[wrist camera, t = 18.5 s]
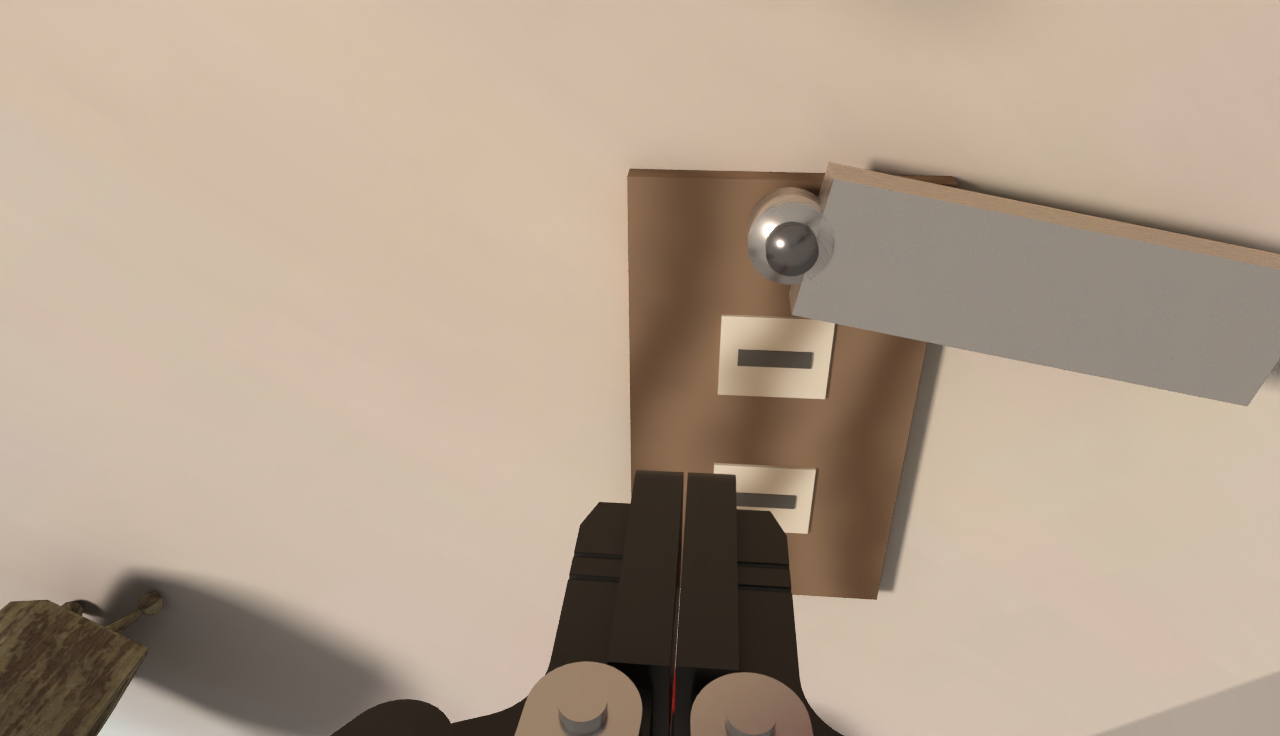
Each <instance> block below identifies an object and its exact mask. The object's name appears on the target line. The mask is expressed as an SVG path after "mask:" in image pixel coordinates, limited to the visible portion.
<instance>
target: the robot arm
mask: <svg viewBox="0 0 1280 736" xmlns="http://www.w3.org/2000/svg"><path fill="white" fill-rule="evenodd" d="M683 491H684V472H670V471H650V470H636V473H635V478H634V485H633V492H632V498H631V504H626V503H608V502H599V503H598V504H597V505H596V507H595V508H594V509H593V510H592V511H591V513H590V514H589V515H588V516H587V517H586V519H585V520H584V521H583V522H582V523H581V525H580V528H579V533H578V537H577V542H576V547H575V551H574V557H573V560H572V565H571V569H570V574H569V580H568V583H567V588H566V592H565V597H564V601H563V606H562V611H561V615H560V620H559V624H558V629H557V633H556V638H555V643H554V647H553V652H552V656H551V661H550V664H549V667H548V670H547V672H546V674H545V676H544V677H542V678H541V679H540V680H539V681H538V682H537V683H536V684H535V686H534V687H533V689H532V690H531V692H530V693H529V695H528V696H527V697H526V698H525V699H523V700H522V701H521V702H519V703H517V704H515V705H514V706H512V707H510V708H508V709H505V710H503V711H501V712H497V713H494V714H491V715H486V716H482V717H478V718H473V719H469V720H464V721H460V722H455V723H450V721H449V719H448V718H447V717H446V715H445V714H444V713H443V712H442V711H441V710H439V709H438V708H437V707H435V706H433V705H431V704H429V703H426V702H423V701H419V700H411V699H404V700H394V701H389V702H386V703H382V704H379V705H377V706H375V707H373V708H370V709H368V710H367V711H365V712H363V713H362V714H360V715H359V716H357V717H356V718H354V719H353V720H352V721H350V722H349V723H347V724H346V725H345V726H343V727H342V728H340V729H339V730H338V731H336V732H335V733H333V734H332V735H331V736H671V723H672V708H673V692H674V676H675V714H674V736H843V735H841V734H840V733H838V732H836V731H835V730H833V729H832V728H831V727H829V726H828V725H827V724H826V723H824V722H823V721H822V720H821V719H820V718H819V717H818V716H817V715H816V713H815V712H814V711H813V709H812V708H811V707H810V705H809V704H808V702H807V700H806V698H805V696H804V694H803V691H802V688H801V683H800V677H799V666H798V655H797V644H796V632H795V621H794V610H793V599H792V593H791V576H790V570H789V554H788V542H787V535H786V534H785V532H784V531H783V529H782V528H781V526H780V525H779V523H778V522H777V520H776V519H775V517H774V516H773V514H772V513H771V511H761V510H742V509H737V505H736V475H733V474H713V473H694V472H688V479H687V494H686V510H685V526H684V542H683V558H682V527H683ZM681 559H682V574H681ZM680 581H681V590H680ZM679 598H680V606H679ZM678 613H679V622H678ZM677 629H678V638H677ZM676 645H677V654H676ZM675 661H676V675H675Z"/></svg>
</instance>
